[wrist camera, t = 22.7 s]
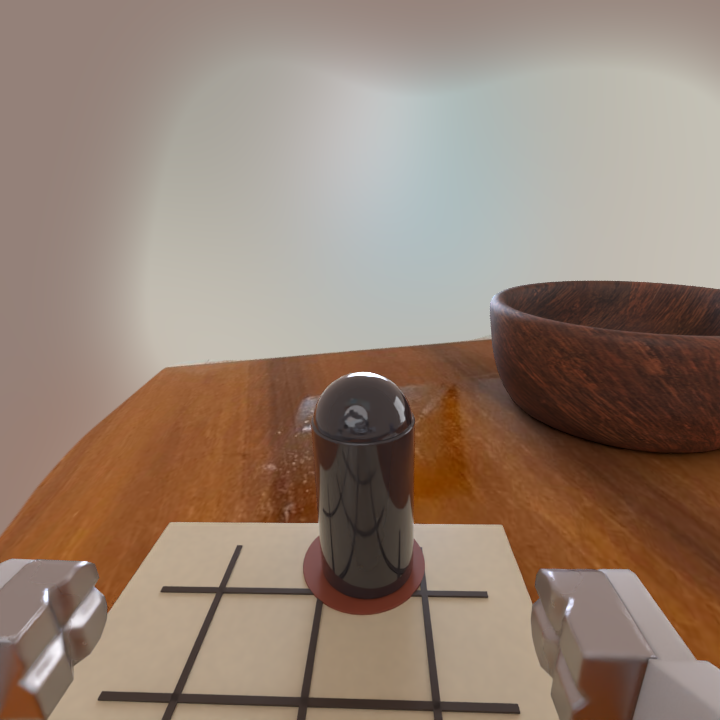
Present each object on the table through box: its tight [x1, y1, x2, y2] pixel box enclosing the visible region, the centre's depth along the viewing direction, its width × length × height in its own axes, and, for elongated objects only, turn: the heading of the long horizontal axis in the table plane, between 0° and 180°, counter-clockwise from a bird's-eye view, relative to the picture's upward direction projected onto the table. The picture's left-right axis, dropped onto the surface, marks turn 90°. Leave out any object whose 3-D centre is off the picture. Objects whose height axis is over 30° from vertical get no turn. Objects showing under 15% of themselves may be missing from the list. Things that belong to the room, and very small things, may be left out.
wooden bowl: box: [490, 281, 720, 453], centre depth 41 cm, size 25×25×10 cm
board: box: [47, 522, 559, 720], centre depth 17 cm, size 20×20×1 cm
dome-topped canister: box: [311, 372, 415, 599], centre depth 21 cm, size 5×5×10 cm
